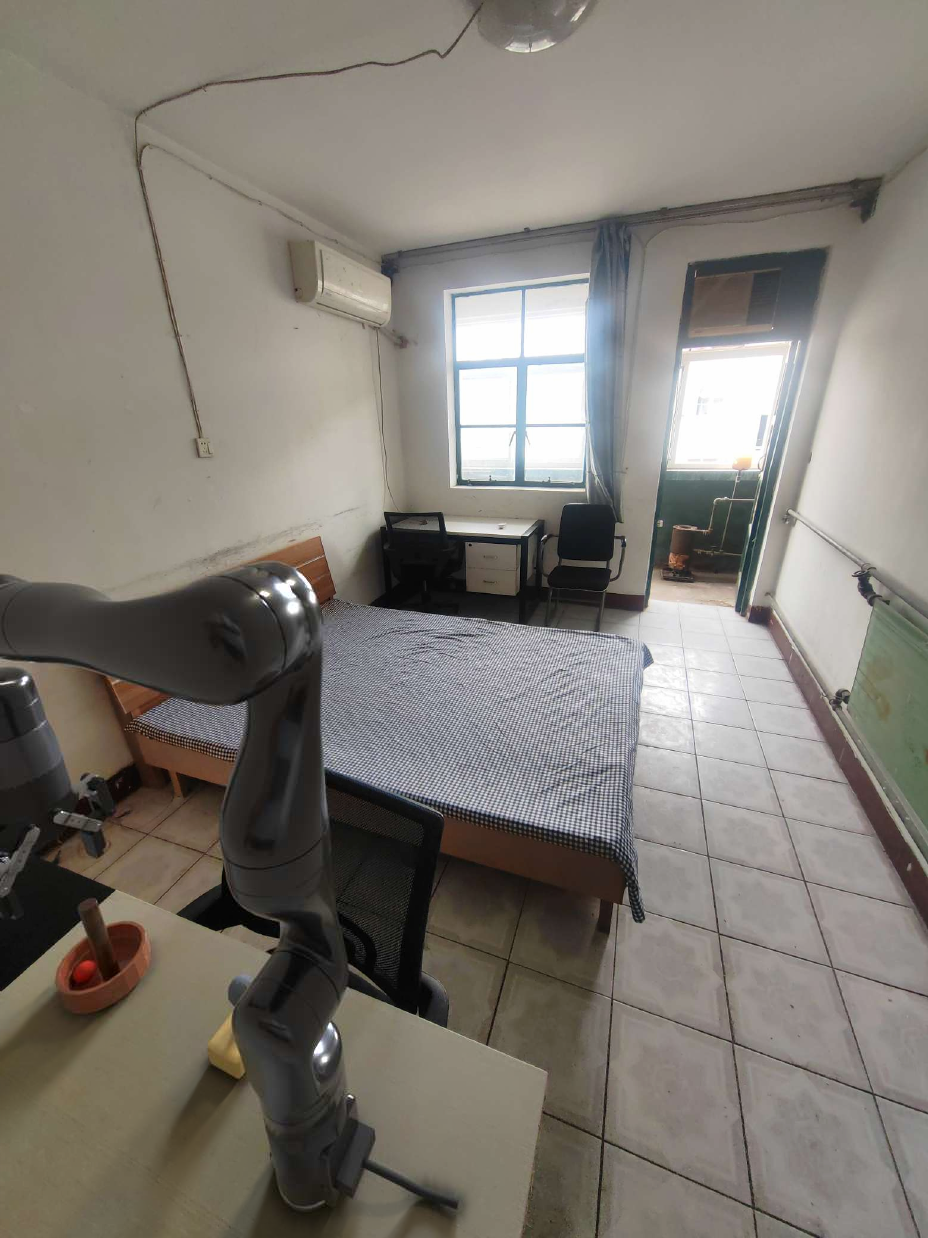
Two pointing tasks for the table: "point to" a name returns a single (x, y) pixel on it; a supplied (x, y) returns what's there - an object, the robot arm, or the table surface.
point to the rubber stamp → (229, 1034)
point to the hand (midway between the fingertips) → (58, 882)
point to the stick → (98, 938)
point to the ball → (84, 971)
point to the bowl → (96, 992)
